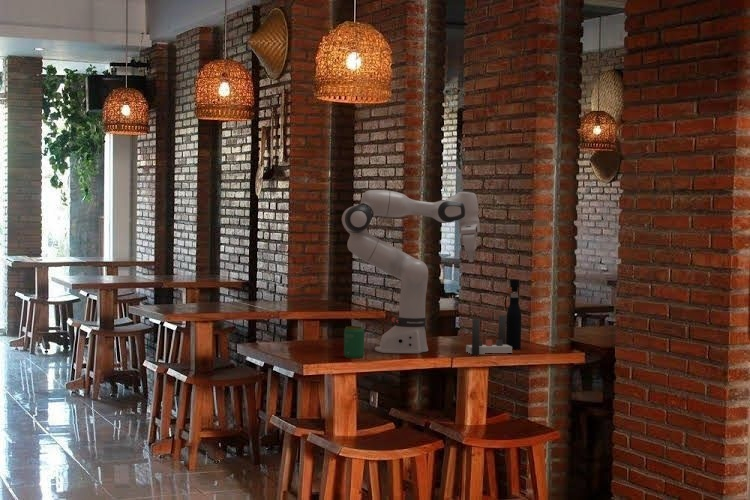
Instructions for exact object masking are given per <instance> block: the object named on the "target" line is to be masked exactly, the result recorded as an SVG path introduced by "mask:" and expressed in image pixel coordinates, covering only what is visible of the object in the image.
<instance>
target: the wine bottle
mask: <svg viewBox="0 0 750 500" xmlns="http://www.w3.org/2000/svg"><path fill="white" fill-rule="evenodd" d="M509 282H510V283H509V287H510V288H511V293H510V297H509V306H508V308H507V311H506V336H505V345H509V346H512V349H519V350H521V347H522V341H521V339H522V310H521V308H520V304H519V302H520V301H519V300H520V299H519V293H518V291H519V290H518V288H520V279H512V278H511V279H510V281H509Z"/></svg>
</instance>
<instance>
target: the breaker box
mask: <svg viewBox="0 0 750 500" xmlns="http://www.w3.org/2000/svg"><path fill="white" fill-rule="evenodd" d="M467 352H468V353H467ZM465 353H467V354H469V353H470V354H469V355H471V354H472V344H466V345H465ZM485 353H512V354H513V350H512V346H509V345H506V344H505V345H503V346H496V344H492V346H486V344H482V346H479V355H486V354H485Z"/></svg>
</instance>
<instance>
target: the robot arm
mask: <svg viewBox="0 0 750 500" xmlns="http://www.w3.org/2000/svg"><path fill="white" fill-rule="evenodd" d="M378 216H379V217H384V218H385V217H386V218H402V217H405V216H406V217H407V216H420V217H421V216H422V217H427V218H432V219H433V220H435V221H436V222H438V223H440V224H446V223H449V224H451V223H453V222H456V221H457V222H458V233H459V234H460V235H461V236H462V241H463V248H464V251H465V252H466V253H467V258H468V262H469V263H472V262H474V261H475V260H476V257H475V255H476V253H475V251H476V249H477V248H478V246H477V245H478V244H477V237H478V233H480V232H481V225H480V218H479V204H478V198H477V194H476V193H475V192H473V191H471V190H470V191H468V190H459V191H457V192H456V193H455V194H454V195H453V196H451V197H449V198H447V199H440V200H438V201H432V202H431V201H430V202H429V201H423V200H415V199H412V198H409V196H407V195H406V194H404V193H401V192H399V191H393V190H386V189H370V190H365V191H364V193H363V194H362V197H361V199H360V203H359V204H357V205H352V206H350V207H348V208H346V209H345V210H344V211H343V212H342V215H341V220H340V221H341V225H342V228H343V229H344V230H345V232H346V233H347V235H348V236H349V238H348V240H347V249H348V251H349V252H351V254H353V255H354V256H356V257H357V258H359V259H361V261H363V262H366V263H368V264H369V265H371V266H374V267H375V268H378V270H381V271H383V272H385V273H386V274H389V275H391V276H392V277H395V278H396V279H398V280H400V281H401V283H400V291H399V292H400V293H399V303H398V305H399V310H398V316H397V317H395V316H394V317H392V318H391V322H392V323H394V324H393V325H394V326H392V327H391V328H390V329H389V330H387V331H386V332H385V333H383V334H382V335H381V339H380V343H379V346H375V348H374V350H375V351H376V352H379V353H383V354H421V353H426V352H428V351H429V348H428V343H427V334H426V332H427V331H426V330H427V317H426V302H427V301H426V299H427V298H426V297H427V289H428V282H429V281H428V280H429V268H428V265H427V264H426V263H425V262H424V261H422V260H421V259H418V258H416V257H413V256H412V255H410V254H408V253H406V252H404V251H402V250H400V249H399V248H397V247H395V246H394V245H391V244H389V243H387V242H386V241H384V240H381V239H380V238H377V237H376V236H374V235H373V234H371V233H370V232H369V231H368V227H369V226H370V225H371V222H372V219H373V218H374V217H378Z"/></svg>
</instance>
